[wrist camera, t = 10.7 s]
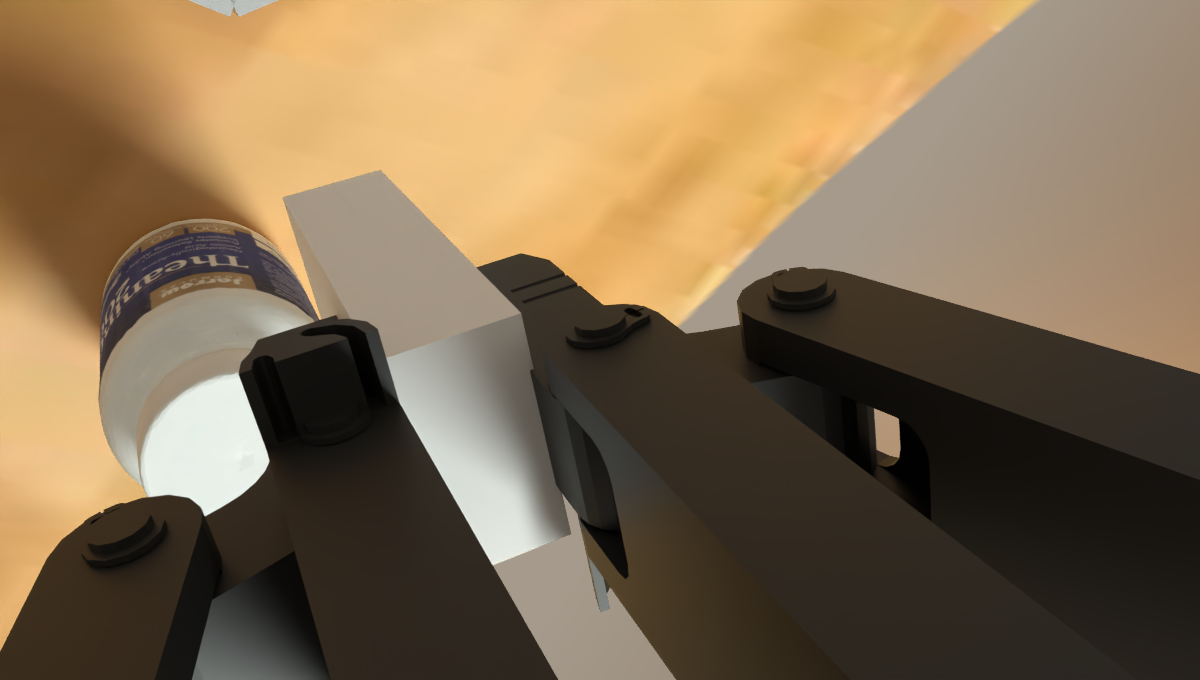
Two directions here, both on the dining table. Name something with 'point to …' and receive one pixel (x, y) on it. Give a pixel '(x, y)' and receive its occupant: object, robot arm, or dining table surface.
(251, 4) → the housing
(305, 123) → the dining table surface
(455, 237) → the dining table surface
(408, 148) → the dining table surface
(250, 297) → the pill bottle
